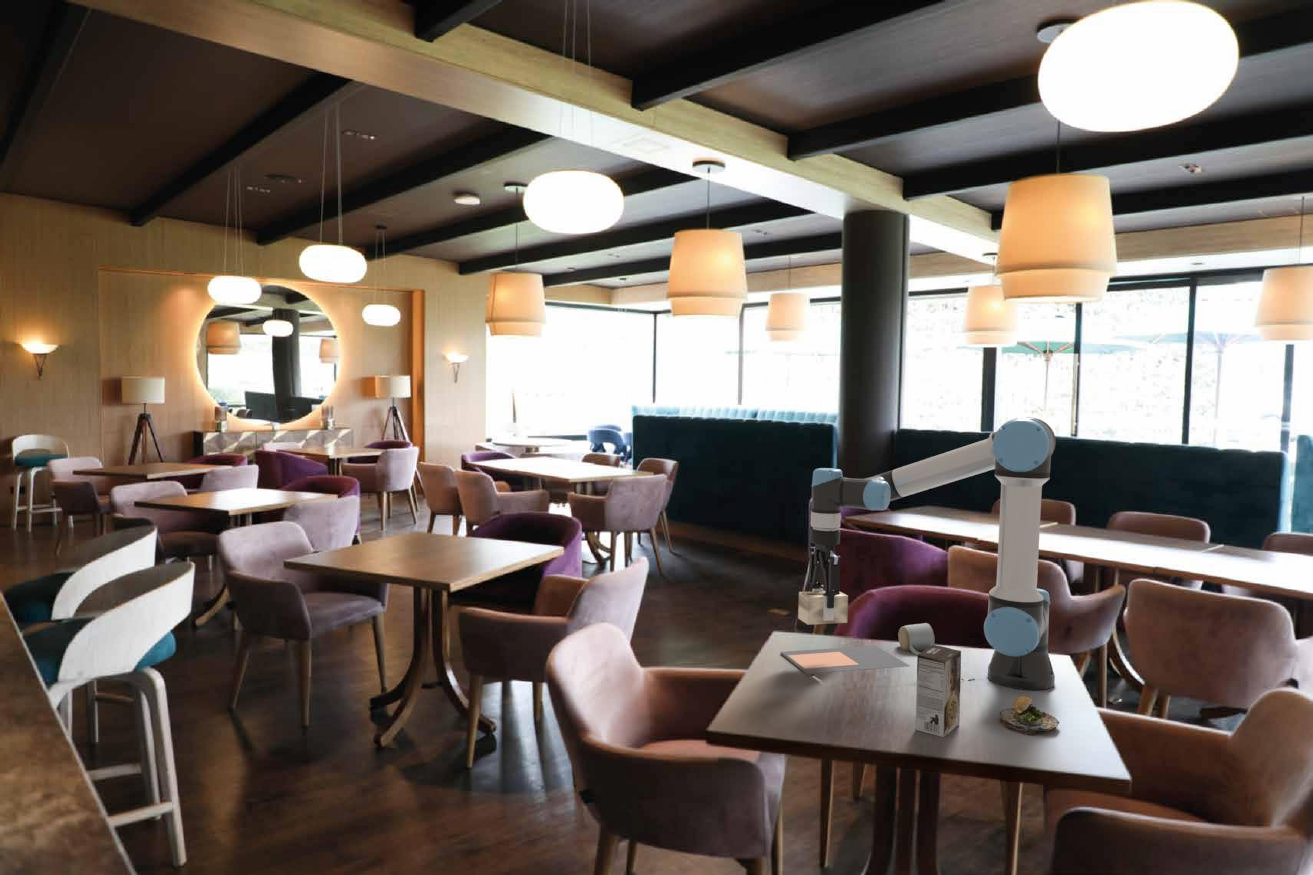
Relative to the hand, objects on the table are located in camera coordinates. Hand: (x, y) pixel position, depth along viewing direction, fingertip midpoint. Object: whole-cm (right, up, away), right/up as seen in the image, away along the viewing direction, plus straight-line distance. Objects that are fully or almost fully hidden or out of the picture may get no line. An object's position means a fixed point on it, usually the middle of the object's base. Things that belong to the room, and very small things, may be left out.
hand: (822, 616), depth 221 cm
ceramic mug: (+28, -12, +11) cm, 32 cm away
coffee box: (+16, -15, -42) cm, 47 cm away
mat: (+6, -12, +2) cm, 14 cm away
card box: (0, -1, 0) cm, 1 cm away
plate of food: (+36, -15, -40) cm, 56 cm away
